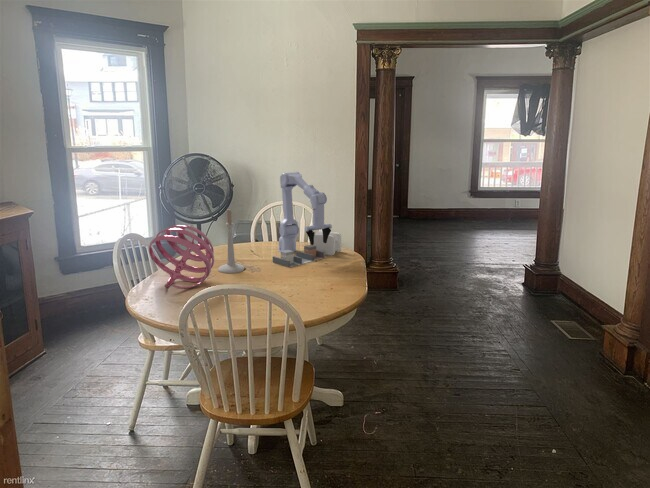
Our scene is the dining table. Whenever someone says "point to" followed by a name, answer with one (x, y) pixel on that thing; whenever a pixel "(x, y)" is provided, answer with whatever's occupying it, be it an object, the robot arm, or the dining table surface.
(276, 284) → the dining table surface
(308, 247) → the brown and grey box
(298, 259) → the grey tiered rack
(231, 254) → the candlestick
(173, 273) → the spiral basket
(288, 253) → the grey rectangular block
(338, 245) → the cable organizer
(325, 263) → the dining table surface
